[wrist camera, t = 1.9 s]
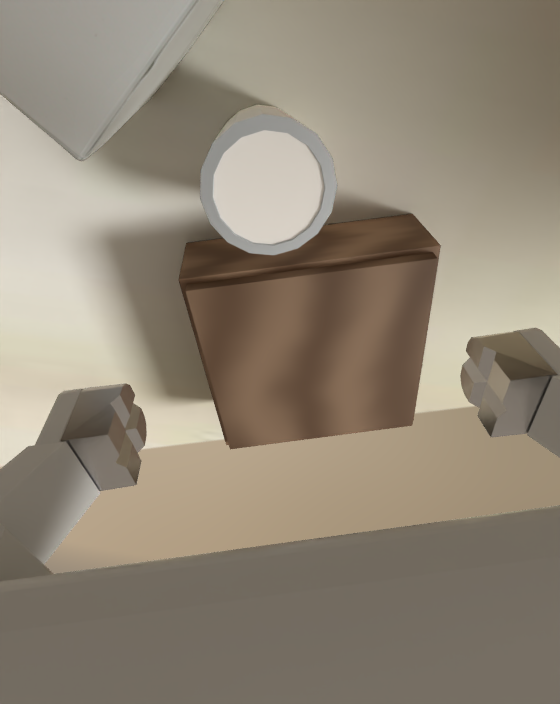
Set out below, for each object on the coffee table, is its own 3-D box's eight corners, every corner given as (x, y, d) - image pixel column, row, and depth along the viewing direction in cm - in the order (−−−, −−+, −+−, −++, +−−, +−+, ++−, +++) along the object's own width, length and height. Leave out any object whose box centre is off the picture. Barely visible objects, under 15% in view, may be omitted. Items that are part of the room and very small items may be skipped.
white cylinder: (196, 192, 27) (186, 237, 22) (221, 72, 23) (217, 90, 18) (294, 222, 29) (308, 270, 24) (333, 116, 25) (360, 144, 20)
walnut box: (412, 213, 29) (445, 251, 25) (395, 379, 39) (416, 428, 35) (186, 243, 29) (176, 286, 25) (227, 400, 39) (226, 452, 35)
